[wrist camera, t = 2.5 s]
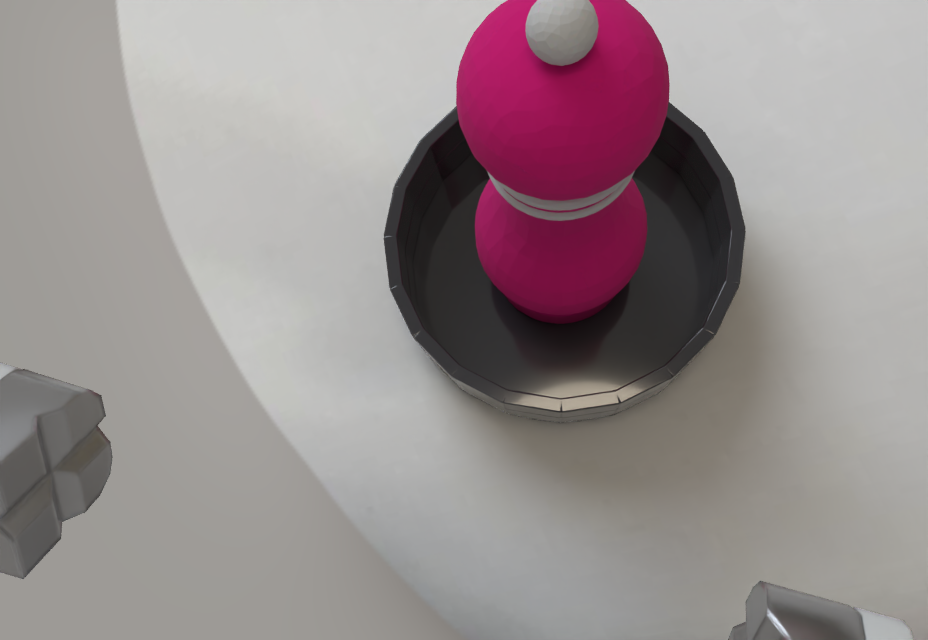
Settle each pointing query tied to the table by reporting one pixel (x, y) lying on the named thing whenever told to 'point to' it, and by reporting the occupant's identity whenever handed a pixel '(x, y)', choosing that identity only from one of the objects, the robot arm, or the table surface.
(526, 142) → the pepper mill
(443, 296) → the pan
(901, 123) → the table surface
